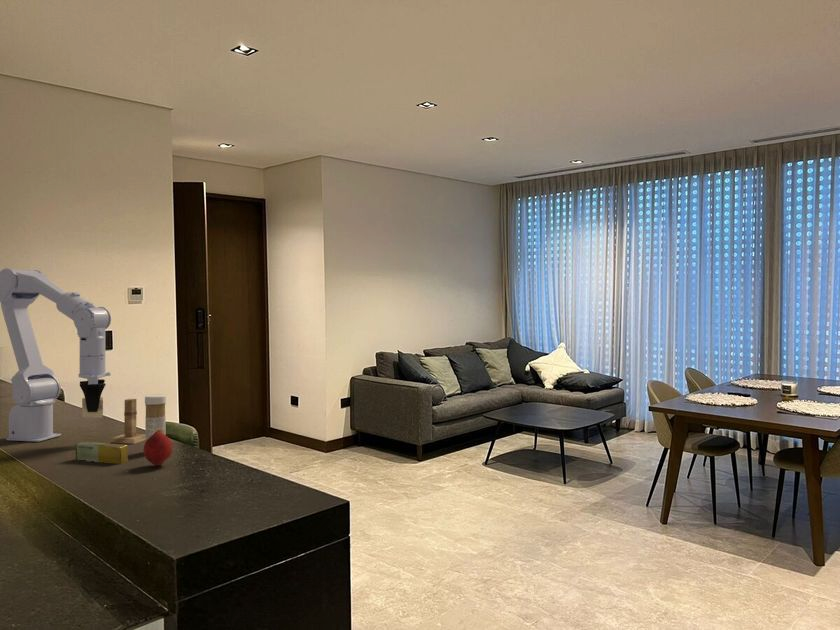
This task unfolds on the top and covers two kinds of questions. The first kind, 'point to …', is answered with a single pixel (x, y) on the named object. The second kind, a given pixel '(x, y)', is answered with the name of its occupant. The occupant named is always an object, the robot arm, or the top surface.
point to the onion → (158, 448)
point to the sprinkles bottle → (154, 414)
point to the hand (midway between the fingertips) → (92, 410)
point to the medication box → (102, 452)
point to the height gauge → (129, 425)
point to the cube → (92, 414)
